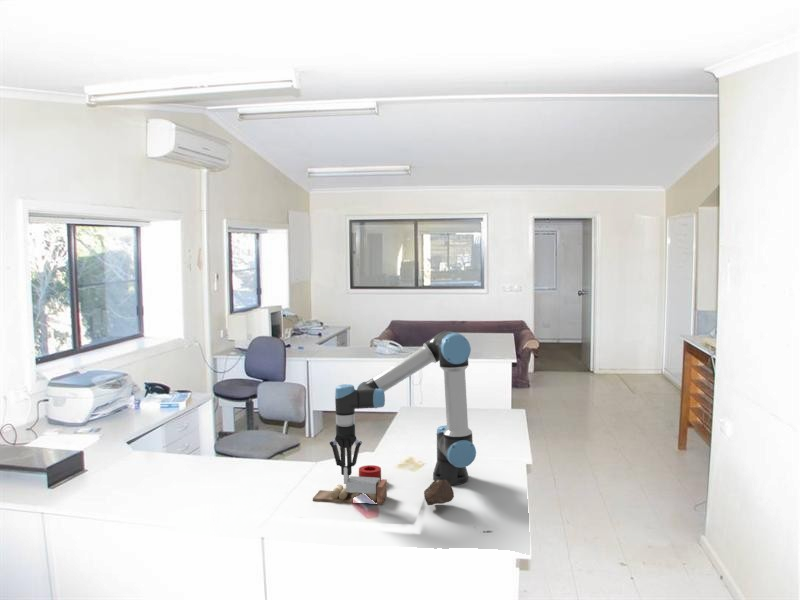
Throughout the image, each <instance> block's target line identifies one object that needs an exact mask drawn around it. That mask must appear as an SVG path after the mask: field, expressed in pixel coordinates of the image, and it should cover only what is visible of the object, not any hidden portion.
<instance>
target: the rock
mask: <svg viewBox="0 0 800 600" xmlns="http://www.w3.org/2000/svg"><path fill="white" fill-rule="evenodd" d="M454 494H455V492H454V489H453V487H452V485H450V484H449V482H448V481H447V480H436V481H434V480H433V481H432V482H431V484H430V485H429V486H428V487H427V488H426V489H425V490H424V492H423V495H424V496H423V497H424V500H425V502H426V505H427V506H434V505H435V504H437V505H440V504H446V503H449V502H451V501H452V500H453V499H454V497H455V495H454Z"/></svg>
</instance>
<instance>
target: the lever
mask: <svg viewBox="0 0 800 600" xmlns="http://www.w3.org/2000/svg"><path fill="white" fill-rule="evenodd" d="M358 477H375V478H380V481H381V480H382V468H381V467H380V466H379V465H372V464H371V465H369V464H367V465H362V466H360V467H358Z"/></svg>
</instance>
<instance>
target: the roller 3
mask: <svg viewBox="0 0 800 600" xmlns="http://www.w3.org/2000/svg"><path fill="white" fill-rule="evenodd" d="M370 499H371V500H373V501H376V499H377V493H376V494H371V495H370Z"/></svg>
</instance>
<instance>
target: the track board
mask: <svg viewBox="0 0 800 600" xmlns="http://www.w3.org/2000/svg"><path fill="white" fill-rule="evenodd" d="M332 491H333V490H321V489H319V490H318V492H317V493H316V494H315V495H314V496H313V497H312V502H329V503H341V504H343V503H344V504H354V503H353V499H352V497H351V496H352V494H353V492H350V493H349V494H348V496H347V497H346V498H345V499H344V500H342V499H340V498H339V496H338V497H337V498H336V499H332V498H331V496H330V494H331V493H332ZM364 494H366V495H367V496H368V497H369V498H370V495H371V494H369V493H364ZM387 497H388V481H387V479H386V478H385V479H384V478H381V481H380V483H379V484H378V486H377V499H376V501H374V502H375V503H377V504H378V505H377V506H382V505H384V503H385V501H386V499H387Z"/></svg>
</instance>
